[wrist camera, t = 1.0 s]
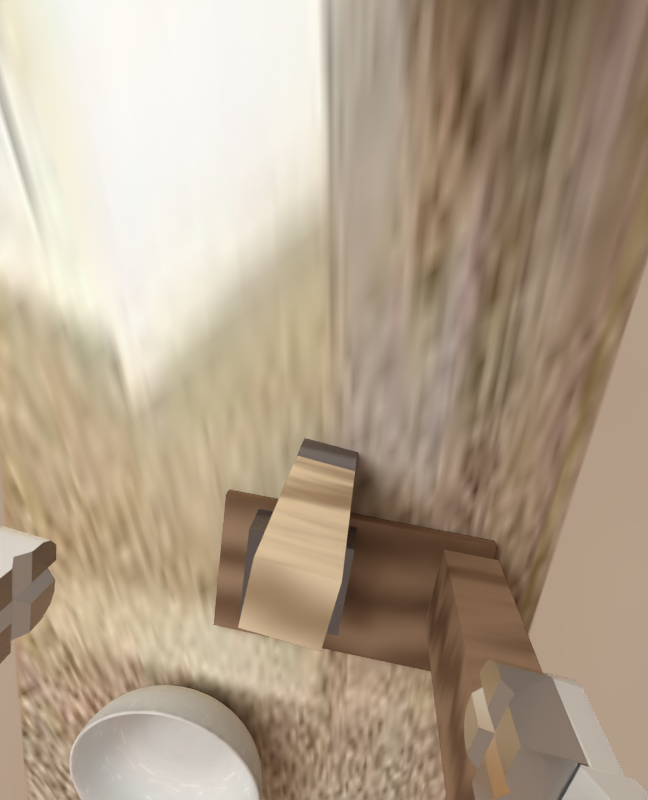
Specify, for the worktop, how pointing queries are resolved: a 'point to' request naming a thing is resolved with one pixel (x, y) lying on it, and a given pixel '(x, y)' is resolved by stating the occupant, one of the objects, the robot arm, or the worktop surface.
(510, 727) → the robot arm
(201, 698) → the serving bowl
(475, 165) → the worktop surface
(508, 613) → the l-shaped wooden bracket
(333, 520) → the rail bar
